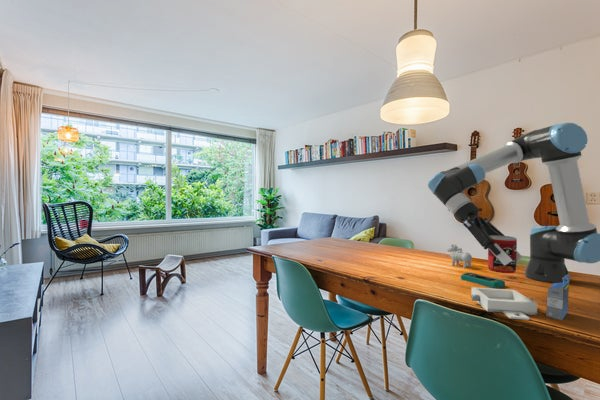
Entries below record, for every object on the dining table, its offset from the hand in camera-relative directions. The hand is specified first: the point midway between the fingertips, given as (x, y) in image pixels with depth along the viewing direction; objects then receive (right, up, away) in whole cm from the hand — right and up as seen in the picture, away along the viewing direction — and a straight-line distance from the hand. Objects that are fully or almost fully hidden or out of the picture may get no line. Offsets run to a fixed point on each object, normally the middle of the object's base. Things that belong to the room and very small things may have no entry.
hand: (514, 261), depth 94 cm
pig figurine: (+14, -15, +60) cm, 63 cm away
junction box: (-2, -15, +3) cm, 15 cm away
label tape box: (+10, -15, -5) cm, 19 cm away
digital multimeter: (+8, -15, +29) cm, 34 cm away
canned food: (-2, -4, +3) cm, 5 cm away
